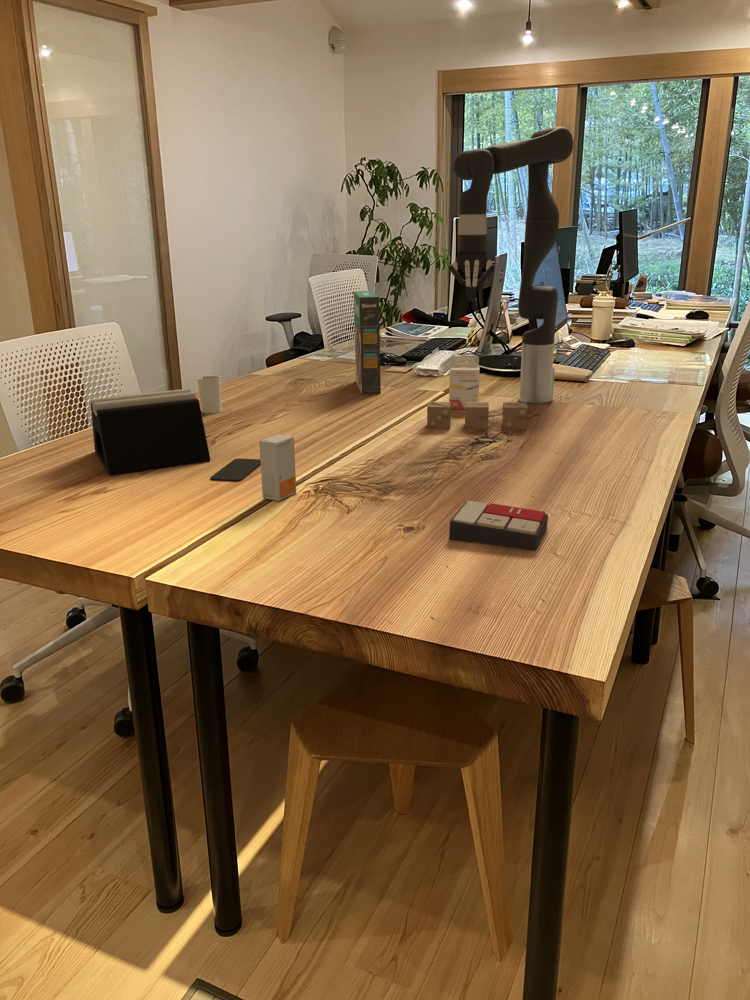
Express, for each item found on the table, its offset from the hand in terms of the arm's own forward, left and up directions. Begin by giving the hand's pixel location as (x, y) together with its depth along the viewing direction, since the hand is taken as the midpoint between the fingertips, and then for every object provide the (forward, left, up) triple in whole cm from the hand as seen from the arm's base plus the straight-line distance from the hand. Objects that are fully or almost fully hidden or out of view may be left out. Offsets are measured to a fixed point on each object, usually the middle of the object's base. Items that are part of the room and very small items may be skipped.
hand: (471, 300), depth 211 cm
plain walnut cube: (+9, +12, -31) cm, 35 cm away
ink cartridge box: (-4, -6, -31) cm, 32 cm away
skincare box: (+78, +25, -31) cm, 88 cm away
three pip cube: (+16, +5, -31) cm, 35 cm away
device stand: (+86, -20, -32) cm, 94 cm away
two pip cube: (+2, +19, -31) cm, 36 cm away
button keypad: (+60, +68, -32) cm, 95 cm away
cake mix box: (-2, -49, -31) cm, 58 cm away
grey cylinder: (+53, -53, -31) cm, 81 cm away
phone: (+76, +4, -32) cm, 82 cm away
